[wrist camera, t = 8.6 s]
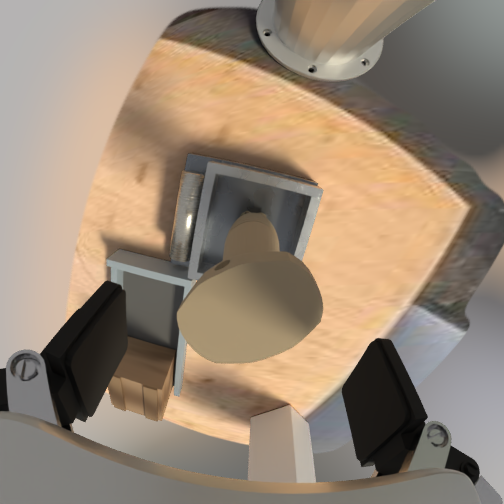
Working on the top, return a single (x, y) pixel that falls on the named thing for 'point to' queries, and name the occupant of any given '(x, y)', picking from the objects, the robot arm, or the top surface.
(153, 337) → the bay
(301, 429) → the milk carton
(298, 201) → the gray square tray
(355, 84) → the top surface
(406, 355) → the top surface
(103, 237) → the top surface
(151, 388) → the crate
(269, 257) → the handle
